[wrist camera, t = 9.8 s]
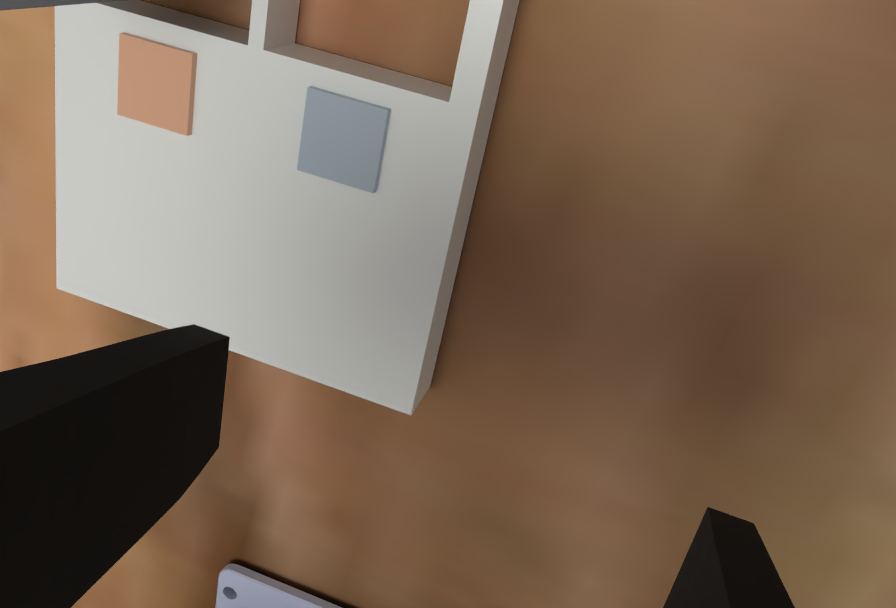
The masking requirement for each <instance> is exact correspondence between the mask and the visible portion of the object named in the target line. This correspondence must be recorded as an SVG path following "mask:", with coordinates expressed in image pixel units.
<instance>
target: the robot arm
mask: <svg viewBox="0 0 896 608" xmlns="http://www.w3.org/2000/svg"><path fill="white" fill-rule="evenodd" d="M229 340H230V337H228V336H226V335H223V334H220V333H217V332H214V331H212V330H209V329H206V328H203V327H200V326H198V325H195V324H193V325H188V326H182V327H177V328H173V329H169V330H164V331H160V332H156V333H153V334H149V335H145V336H141V337H138V338H134V339H130V340H127V341H123V342H119V343H116V344H112V345H108V346H104V347H101V348H97V349H93V350H89V351H86V352H82V353H78V354H74V355H71V356H67V357H63V358H59V359H55V360H51V361H46V362H42V363H38V364H33V365H29V366H25V367H20V368H16V369H12V370H7V371H3V372H0V608H71V607H72V606H73V605H74V604H75V603H76V602H77V601H78V600H79V599H80V598H81V597H82V596H83V595H84V594H85V593H86V592H87V591H88V590H89V589H90V588H91V587H92V586H93V585H94V584H95V583H96V582H97V581H98V580H99V579H100V578H101V577H102V576H103V575H104V574H105V573H106V572H107V571H108V570H109V569H110V568H111V567H112V566H113V565H114V564H115V563H116V562H117V561H118V560H119V559H120V558H121V557H122V556H123V555H124V554H125V553H126V552H127V551H128V550H129V549H130V548H131V547H132V546H133V545H134V544H135V543H136V542H137V541H138V540H139V539H140V538H141V537H142V536H143V535H144V534H145V533H146V532H147V531H148V530H149V529H150V528H151V527H152V526H153V525H154V524H155V523H156V522H157V521H158V520H159V519H160V518H161V517H162V516H163V515H164V514H165V513H166V512H167V511H168V510H169V509H170V508H171V507H172V506H173V505H174V504H175V503H176V502H177V501H178V500H179V499H180V498H181V496H182V495H183V494H184V493H185V491H186V490H187V489H188V487H189V486H190V485H191V484H192V482H193V481H194V480H195V479H196V477H197V476H198V475H199V473H200V472H201V471H202V469H203V468H204V467H205V465H206V464H207V462H208V461H209V460H210V458H211V457H212V456H213V454H214V453H215V452H216V450H217V449H218V447H219V439H220V430H221V420H222V410H223V400H224V390H225V380H226V370H227V360H228V350H229ZM233 589H234V590H235V591H234V590H233ZM215 608H342V607H340V606H337V605H335V604H332V603H330V602H327V601H325V600H323V599H320V598H318V597H315V596H313V595H310V594H308V593H306V592H303V591H301V590H298V589H296V588H293V587H291V586H289V585H286V584H284V583H281V582H279V581H276V580H274V579H272V578H269V577H267V576H264V575H262V574H259V573H257V572H255V571H252V570H250V569H247V568H245V567H243V566H240V565H237V564H228V565H226V566H225V567H224V568H223V570H222V571H221V572H220V574H219V578H218V588H217V597H216V606H215ZM663 608H795V607H794V605H793V603H792V601H791V599H790V597H789V595H788V593H787V591H786V589H785V587H784V585H783V583H782V581H781V579H780V577H779V575H778V573H777V570H776V568H775V566H774V564H773V562H772V560H771V558H770V556H769V554H768V552H767V549H766V547H765V545H764V543H763V541H762V539H761V537H760V535H759V533H758V531H757V529H756V527H755V525H754V523H751V522H748V521H746V520H743V519H740V518H737V517H734V516H731V515H729V514H726V513H723V512H720V511H717V510H715V509H712V508H709V507H708V508H707V510H706V512H705V515H704V517H703V519H702V521H701V524H700V526H699V528H698V530H697V533H696V535H695V537H694V539H693V542H692V544H691V546H690V548H689V551H688V553H687V555H686V557H685V560H684V562H683V564H682V566H681V569H680V571H679V573H678V575H677V578H676V580H675V582H674V585H673V587H672V589H671V591H670V594H669V596H668V598H667V600H666V603H665V605H664V607H663Z"/></svg>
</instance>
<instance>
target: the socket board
mask: <svg viewBox="0 0 896 608" xmlns="http://www.w3.org/2000/svg"><path fill="white" fill-rule="evenodd" d="M519 1H520V0H470V3H469V8H468V13H467V18H466V23H465V27H464V32H463V37H462V42H461V47H460V52H459V57H458V61H457V66H456V71H455V76H454V81H453V86H452V87H451V86H447V85H444V84H440V83H436V82H433V81H429V80H426V79H422V78H418V77H415V76H411V75H408V74H404V73H400V72H397V71H393V70H390V69H386V68H382V67H379V66H375V65H372V64H368V63H364V62H361V61H357V60H354V59H350V58H346V57H343V56H339V55H336V54H332V53H328V52H325V51H321V50H318V49H314V48H310V47H307V46H303V45H300V44H296V43H295V39H296V31H297V23H298V14H299V6H300V0H252V8H251V19H250V29H249V30H246V29H242V28H238V27H235V26H231V25H228V24H224V23H220V22H217V21H213V20H210V19H206V18H202V17H199V16H195V15H192V14H188V13H184V12H181V11H177V10H174V9H170V8H166V7H163V6H159V5H156V4H152V3H148V2H145V1H141V0H125V1H112V2H100V3H87V4H74V5H62V6H55V116H56V268H57V289H60V290H63V291H66V292H68V293H71V294H74V295H77V296H80V297H82V298H85V299H88V300H91V301H94V302H96V303H99V304H102V305H105V306H107V307H110V308H113V309H116V310H119V311H121V312H124V313H127V314H130V315H133V316H135V317H138V318H141V319H144V320H146V321H149V322H152V323H155V324H158V325H160V326H163V327H166V328H169V329H173V328H177V327H182V326H188V325H193V324H195V325H198V326H200V327H203V328H206V329H209V330H212V331H214V332H217V333H220V334H223V335H226V336H228V337H230V340H229V350H230V351H233V352H236V353H238V354H241V355H244V356H247V357H249V358H252V359H255V360H258V361H261V362H263V363H266V364H269V365H272V366H274V367H277V368H280V369H283V370H286V371H288V372H291V373H294V374H297V375H300V376H302V377H305V378H308V379H311V380H313V381H316V382H319V383H322V384H325V385H327V386H330V387H333V388H336V389H339V390H341V391H344V392H347V393H350V394H352V395H355V396H358V397H361V398H364V399H366V400H369V401H372V402H375V403H378V404H380V405H383V406H386V407H389V408H391V409H394V410H397V411H400V412H403V413H405V414H408V415H411V414H412V413H413V412H414V410H415V409H416V407H417V406H418V404H419V403H420V401H421V400H422V398H423V397H424V395H425V394H426V393H427V391H428V390H429V388H430V385H431V381H432V377H433V372H434V368H435V364H436V359H437V355H438V351H439V346H440V342H441V338H442V333H443V329H444V325H445V320H446V316H447V312H448V307H449V303H450V299H451V294H452V290H453V286H454V282H455V277H456V273H457V269H458V264H459V260H460V256H461V251H462V247H463V243H464V238H465V234H466V230H467V225H468V221H469V217H470V212H471V208H472V204H473V199H474V195H475V191H476V186H477V182H478V178H479V174H480V169H481V165H482V161H483V156H484V152H485V148H486V143H487V139H488V135H489V130H490V126H491V122H492V117H493V113H494V109H495V104H496V100H497V96H498V91H499V87H500V83H501V78H502V74H503V70H504V65H505V61H506V57H507V53H508V48H509V44H510V40H511V35H512V31H513V27H514V22H515V18H516V14H517V9H518V5H519Z"/></svg>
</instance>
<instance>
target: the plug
mask: <svg viewBox="0 0 896 608" xmlns="http://www.w3.org/2000/svg"><path fill="white" fill-rule="evenodd" d="M112 1H125V0H0V10H11V9H24V8H37V7H49V6H62V5H74V4H87V3H100V2H112Z"/></svg>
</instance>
